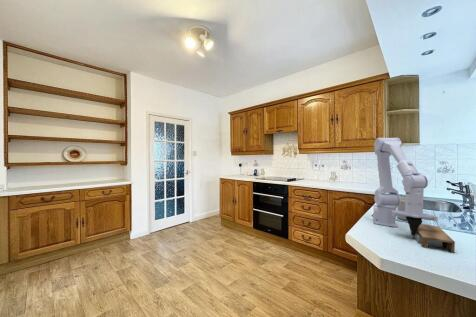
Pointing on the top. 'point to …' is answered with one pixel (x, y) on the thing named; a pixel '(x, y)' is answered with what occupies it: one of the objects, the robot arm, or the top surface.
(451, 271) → the top surface
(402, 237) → the top surface
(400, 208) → the can
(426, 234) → the shelf
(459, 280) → the top surface
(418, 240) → the tray
